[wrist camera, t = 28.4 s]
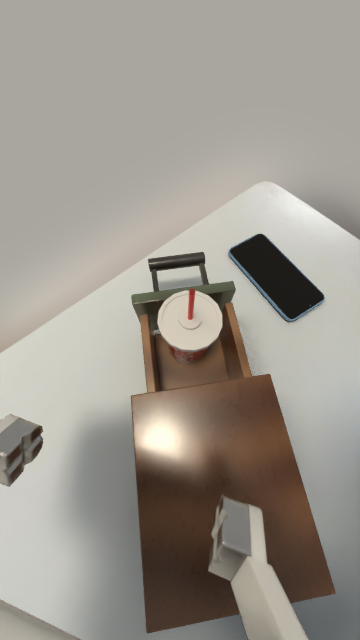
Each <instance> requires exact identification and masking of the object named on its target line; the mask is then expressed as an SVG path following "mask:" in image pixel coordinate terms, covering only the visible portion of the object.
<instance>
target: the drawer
mask: <svg viewBox="0 0 360 640" xmlns="http://www.w3.org/2000/svg"><path fill="white" fill-rule="evenodd" d="M148 262H149V269H150V272H152V280H153V288H154V292H149V293H142V294H134V295H132V305H133V307H134V309H135V312H136V314H137V316H138V319H139V321H140V323H141V331H142V342H143V353H144V364H145V375H146V385H147V393H151V392H157V391H164V390H170V389H176V388H183V387H189V386H195V385H202V384H208V383H214V382H221V381H227V380H233V379H240V378H246V377H252V374H251V370H250V367H249V363H248V359H247V356H246V352H245V348H244V345H243V341H242V337H241V333H240V330H239V326H238V322H237V319H236V315H235V311H234V307H233V304H232V303H230V302H231V300H232V298H233V295H234V293H235V290H236V289H235V286H234V282H233V281H230V282H223V283H216V284H209V283H208V279H207V274H206V270H205V266H204V265H205V255H204V252H199V253H191V254H183V255H175V256H167V257H159V258H152V259H148ZM192 266H199V269H200V273H201V278H202V282H203V285H201V286H193V287H186V288H179V289H171V290H164V291H159V287H158V279H157V272H156V271H161V270H169V269H176V268H184V267H192ZM190 289H195V291H199V292H201V293H203V294H206V295H208V296H210V297H211V298H212V299H213V300H214V301H215V302H216V303H217V304H218V306H219V308H220V311H221V313H222V328H221V331H220V333H219V335H218V337H217V339H216V340H215V341H214V342H213V343H212V344H211V345H210V346H209V347H208V349H207V350H206V352H205V354H204V355H203V357H202V358H201V359H200V360H199V361H198V362H195V363H192V364H183V363H181V362H179V361H177V360H176V359H175V358H174V357H173V356H172V354H171V351H170V349H169V346H168V344H167V342H166V341H165V340H164V339H163V337H162V335H161V334H157V335H154V333H153V330H152V328H159V327H158V323H157V322H158V312H159V310H160V308H161V306H162V304H163V303H164V301H165V300H167V299H168V298H169V297H170V296H172V295H173V294H175V293H178V292H182V291H185V290H187V291H189V290H190Z"/></svg>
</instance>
